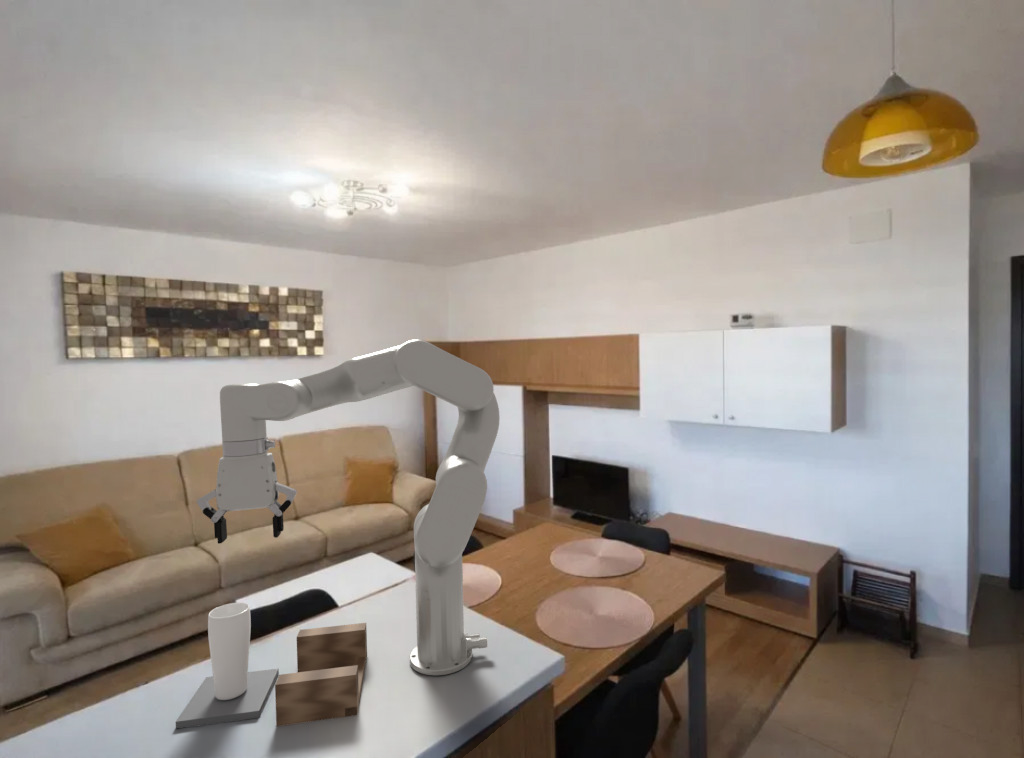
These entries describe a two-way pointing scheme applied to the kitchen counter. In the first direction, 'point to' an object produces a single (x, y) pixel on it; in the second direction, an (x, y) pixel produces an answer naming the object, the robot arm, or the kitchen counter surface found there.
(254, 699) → the slate board
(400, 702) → the kitchen counter surface
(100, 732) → the kitchen counter surface
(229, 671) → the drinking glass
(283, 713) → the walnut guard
